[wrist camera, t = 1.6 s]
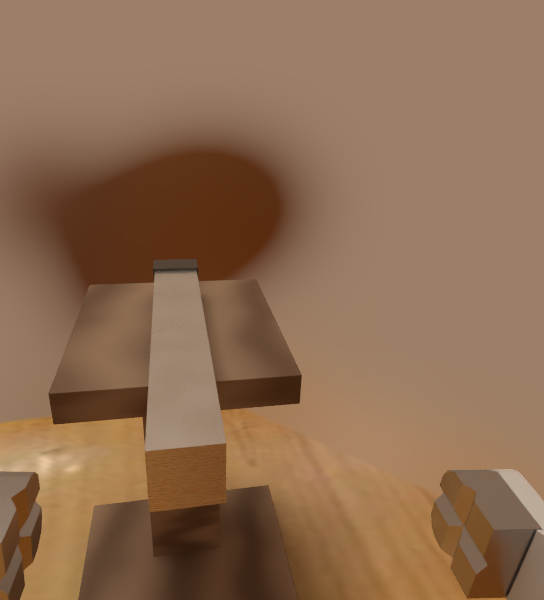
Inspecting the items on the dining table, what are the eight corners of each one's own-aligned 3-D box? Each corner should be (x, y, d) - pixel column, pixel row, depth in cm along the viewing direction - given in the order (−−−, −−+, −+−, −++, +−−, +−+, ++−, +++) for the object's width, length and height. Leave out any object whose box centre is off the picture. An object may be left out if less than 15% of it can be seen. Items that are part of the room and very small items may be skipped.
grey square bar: (196, 294, 39) (195, 257, 38) (228, 502, 20) (228, 438, 18) (156, 296, 39) (153, 257, 38) (147, 512, 19) (141, 447, 18)
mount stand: (267, 499, 54) (278, 278, 44) (305, 649, 39) (333, 372, 29) (96, 520, 50) (64, 285, 40) (68, 694, 36) (8, 396, 26)
